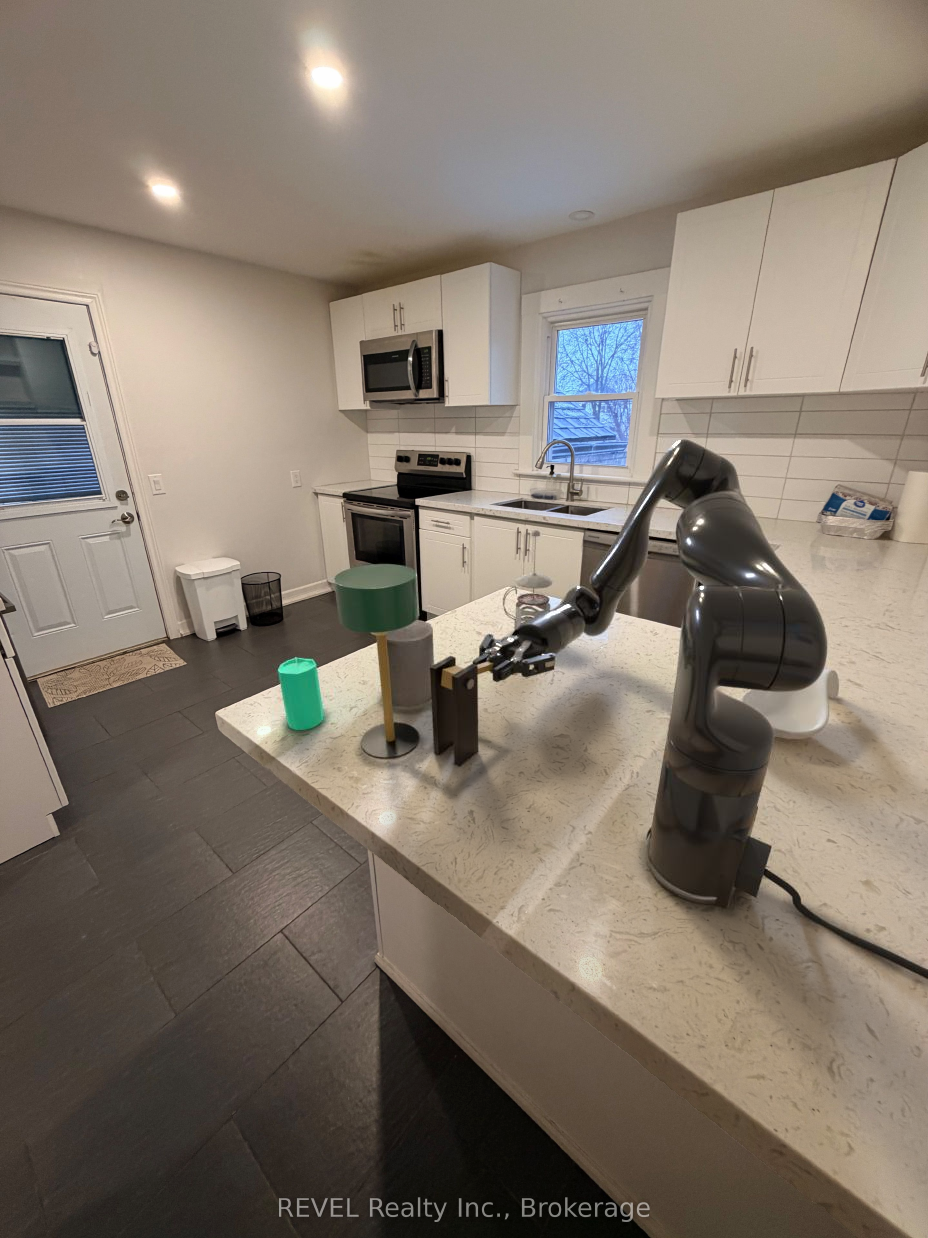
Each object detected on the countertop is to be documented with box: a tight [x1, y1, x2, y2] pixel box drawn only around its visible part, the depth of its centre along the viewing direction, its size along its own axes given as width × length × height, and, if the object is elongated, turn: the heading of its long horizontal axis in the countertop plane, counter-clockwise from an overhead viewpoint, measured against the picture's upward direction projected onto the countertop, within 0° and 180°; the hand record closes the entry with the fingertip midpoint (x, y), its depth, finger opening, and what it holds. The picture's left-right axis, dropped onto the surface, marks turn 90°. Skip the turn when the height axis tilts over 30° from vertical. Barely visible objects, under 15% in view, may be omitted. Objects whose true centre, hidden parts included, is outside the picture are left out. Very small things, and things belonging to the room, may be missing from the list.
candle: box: [277, 656, 325, 731], centre depth 82 cm, size 6×6×12 cm
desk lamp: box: [333, 563, 421, 760], centre depth 71 cm, size 15×11×28 cm
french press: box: [502, 529, 553, 632], centre depth 109 cm, size 10×12×25 cm
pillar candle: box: [386, 619, 435, 707], centre depth 87 cm, size 10×10×15 cm
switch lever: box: [441, 653, 506, 690], centre depth 73 cm, size 13×3×3 cm, turn 141°
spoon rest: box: [740, 667, 840, 740], centre depth 82 cm, size 24×12×7 cm, turn 128°
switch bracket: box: [430, 655, 479, 768], centre depth 71 cm, size 12×9×16 cm
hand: (484, 672), depth 74 cm, fingers closed on switch lever, 3 cm apart
